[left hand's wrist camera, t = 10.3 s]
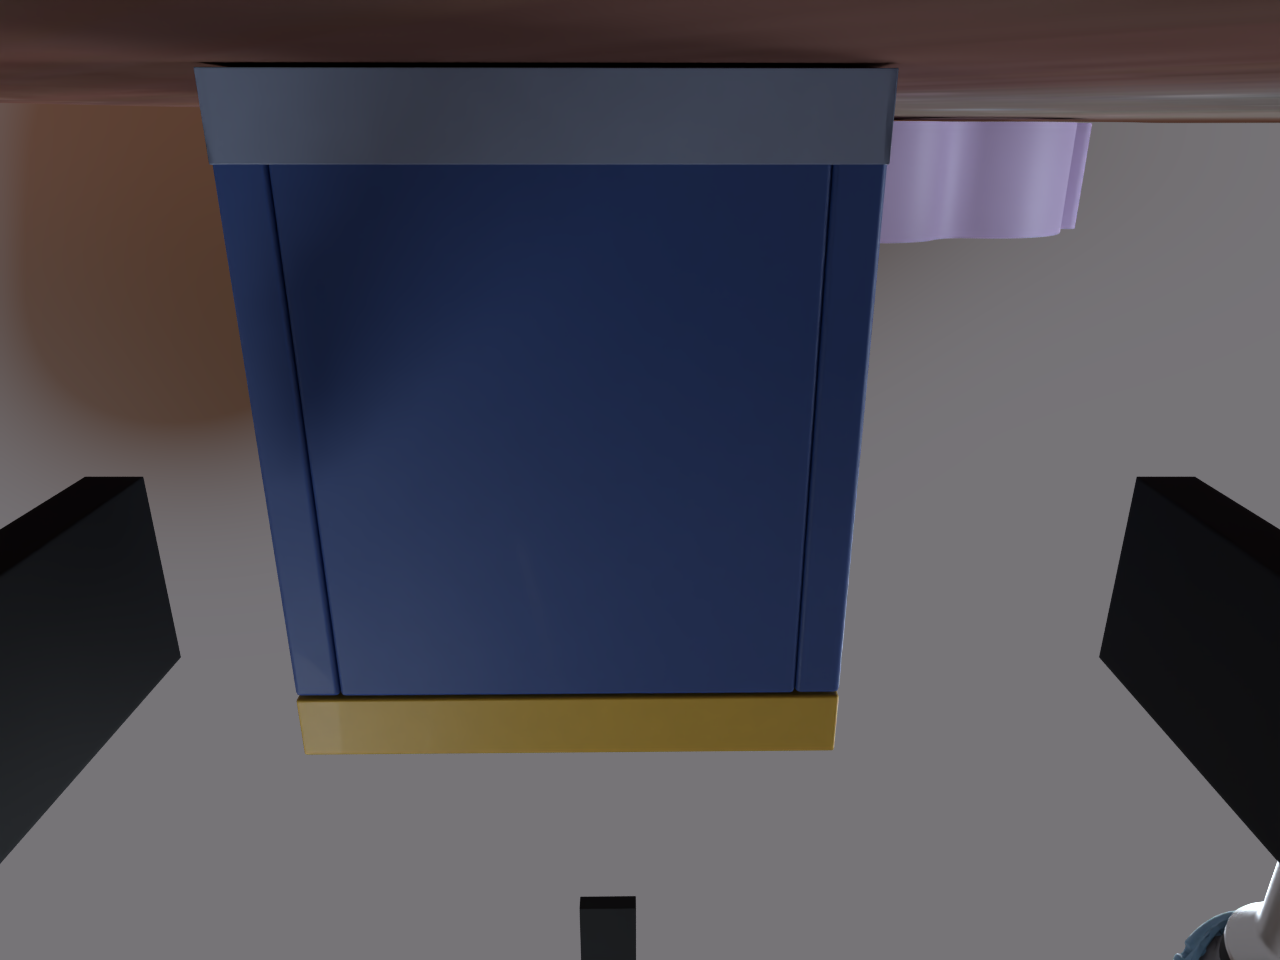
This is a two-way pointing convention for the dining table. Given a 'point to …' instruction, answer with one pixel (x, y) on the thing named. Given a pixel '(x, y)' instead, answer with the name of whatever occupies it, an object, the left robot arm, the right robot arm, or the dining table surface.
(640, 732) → the lid
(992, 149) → the clip
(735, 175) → the chest
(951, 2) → the dining table surface
